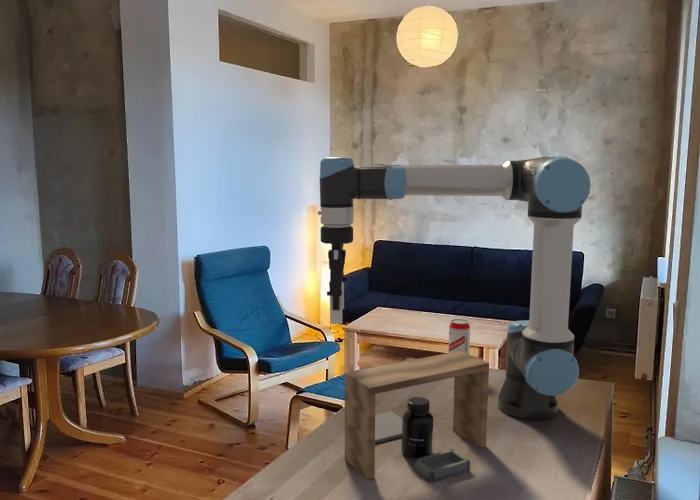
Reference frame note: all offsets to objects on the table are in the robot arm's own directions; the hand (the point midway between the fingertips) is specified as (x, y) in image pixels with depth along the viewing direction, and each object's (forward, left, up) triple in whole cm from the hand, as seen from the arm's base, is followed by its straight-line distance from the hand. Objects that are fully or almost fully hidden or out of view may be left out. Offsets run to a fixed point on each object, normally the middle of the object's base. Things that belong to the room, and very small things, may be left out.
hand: (337, 315), depth 146 cm
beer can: (-35, -39, -28) cm, 60 cm away
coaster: (-11, -1, -28) cm, 30 cm away
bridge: (-18, +12, -28) cm, 35 cm away
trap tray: (-23, +19, -28) cm, 41 cm away
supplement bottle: (-18, +12, -28) cm, 35 cm away
